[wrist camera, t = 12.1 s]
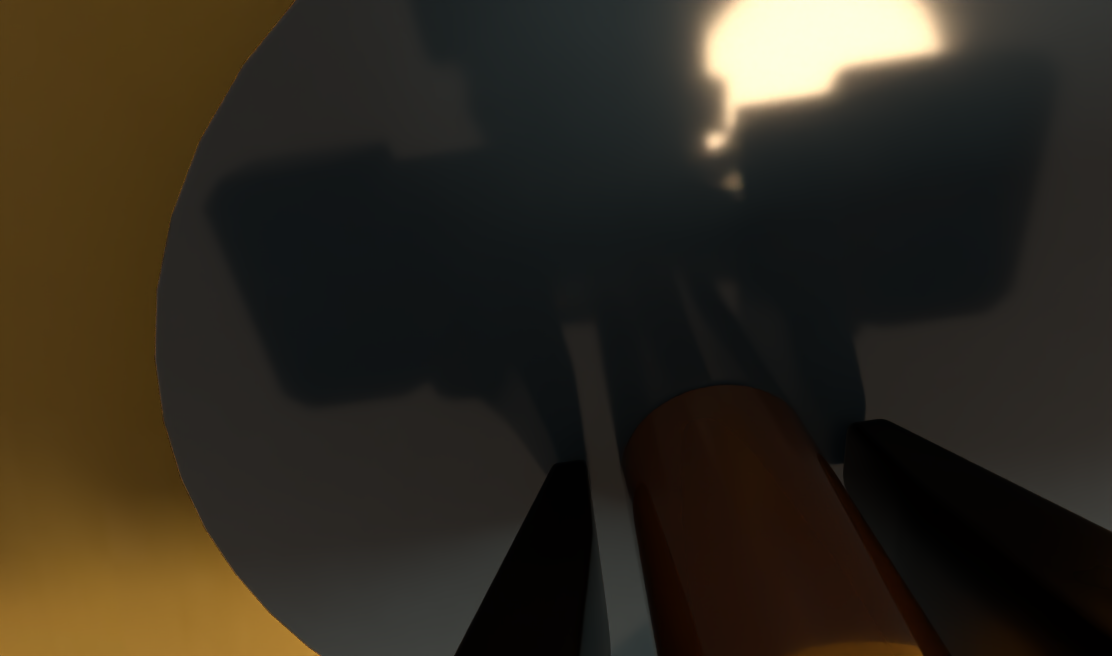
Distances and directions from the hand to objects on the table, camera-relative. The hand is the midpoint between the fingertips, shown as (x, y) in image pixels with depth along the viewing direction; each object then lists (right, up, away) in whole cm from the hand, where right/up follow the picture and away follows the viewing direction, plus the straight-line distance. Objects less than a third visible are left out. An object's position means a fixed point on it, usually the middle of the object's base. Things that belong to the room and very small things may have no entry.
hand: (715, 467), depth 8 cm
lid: (0, 0, +1) cm, 1 cm away
